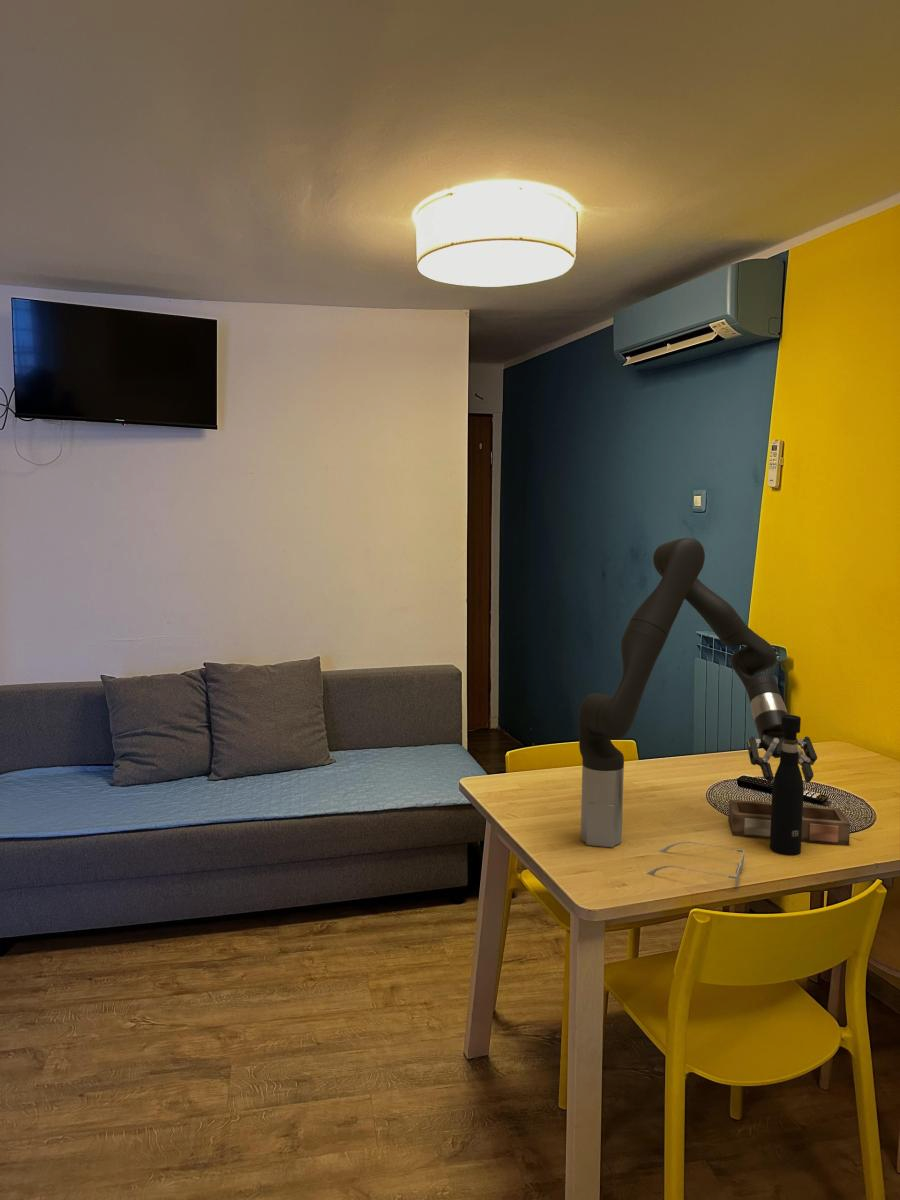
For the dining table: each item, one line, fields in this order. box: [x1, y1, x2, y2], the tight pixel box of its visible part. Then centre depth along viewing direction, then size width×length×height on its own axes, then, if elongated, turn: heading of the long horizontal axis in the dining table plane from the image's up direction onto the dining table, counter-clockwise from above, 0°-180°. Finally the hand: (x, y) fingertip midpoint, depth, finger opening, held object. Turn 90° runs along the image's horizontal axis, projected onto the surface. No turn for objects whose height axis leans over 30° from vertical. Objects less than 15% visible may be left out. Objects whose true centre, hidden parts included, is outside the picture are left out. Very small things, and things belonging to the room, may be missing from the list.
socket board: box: [727, 799, 851, 846], centre depth 200 cm, size 25×12×5 cm, turn 77°
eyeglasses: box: [646, 841, 745, 888], centre depth 178 cm, size 15×18×4 cm
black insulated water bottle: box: [769, 714, 805, 856], centre depth 188 cm, size 6×6×30 cm
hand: (790, 780), depth 187 cm, fingers open, 8 cm apart
